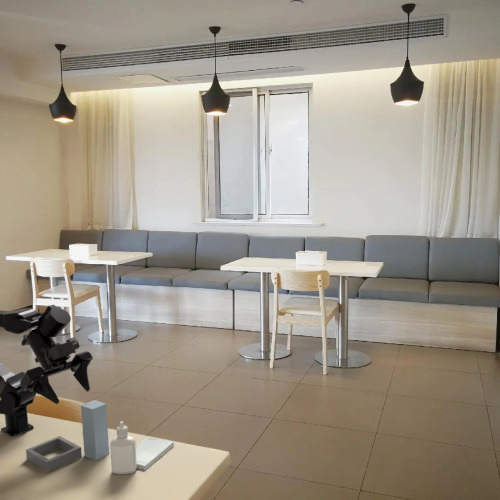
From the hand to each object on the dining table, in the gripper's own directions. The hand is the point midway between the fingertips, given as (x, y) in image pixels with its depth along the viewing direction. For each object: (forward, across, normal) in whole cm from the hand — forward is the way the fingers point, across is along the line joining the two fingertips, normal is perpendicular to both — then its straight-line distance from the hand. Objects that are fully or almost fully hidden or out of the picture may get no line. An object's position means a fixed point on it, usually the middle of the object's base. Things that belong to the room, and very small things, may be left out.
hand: (73, 396), depth 133 cm
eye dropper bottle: (+24, -2, -4) cm, 24 cm away
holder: (+10, -7, +9) cm, 15 cm away
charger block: (+15, 0, +4) cm, 15 cm away
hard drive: (+23, +7, -3) cm, 24 cm away
